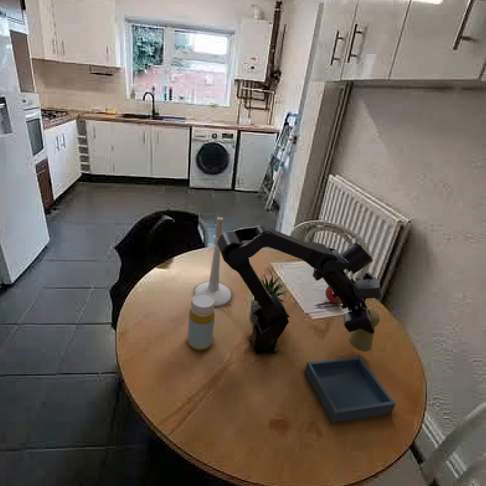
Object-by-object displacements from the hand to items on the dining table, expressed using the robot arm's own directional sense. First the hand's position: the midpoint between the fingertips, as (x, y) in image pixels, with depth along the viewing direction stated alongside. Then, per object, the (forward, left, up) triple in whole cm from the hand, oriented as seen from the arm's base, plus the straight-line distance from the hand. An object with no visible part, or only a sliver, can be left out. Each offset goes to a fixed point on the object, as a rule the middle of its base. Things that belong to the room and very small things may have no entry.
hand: (371, 326), depth 85 cm
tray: (-12, -10, -10) cm, 19 cm away
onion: (+4, +23, -11) cm, 26 cm away
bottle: (-46, +10, -11) cm, 48 cm away
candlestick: (-38, +31, -11) cm, 50 cm away
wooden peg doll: (-1, +1, -7) cm, 7 cm away
